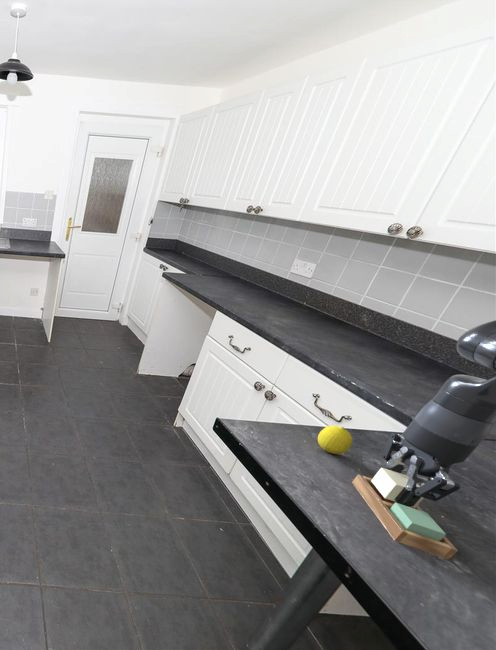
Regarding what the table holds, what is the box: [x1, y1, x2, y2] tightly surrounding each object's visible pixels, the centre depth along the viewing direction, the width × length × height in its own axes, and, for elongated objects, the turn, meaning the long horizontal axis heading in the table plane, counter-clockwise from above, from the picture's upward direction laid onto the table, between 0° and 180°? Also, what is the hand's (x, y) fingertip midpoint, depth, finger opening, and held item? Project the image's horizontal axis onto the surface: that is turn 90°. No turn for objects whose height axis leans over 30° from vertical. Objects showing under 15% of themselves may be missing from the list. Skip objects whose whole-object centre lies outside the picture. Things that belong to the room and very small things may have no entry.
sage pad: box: [389, 503, 447, 541], centre depth 63 cm, size 5×5×4 cm
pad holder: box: [351, 473, 459, 561], centre depth 66 cm, size 7×14×3 cm, turn 157°
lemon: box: [317, 425, 354, 455], centre depth 81 cm, size 6×6×8 cm
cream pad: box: [371, 467, 424, 508], centre depth 67 cm, size 5×5×4 cm
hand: (393, 492), depth 68 cm, fingers closed on cream pad, 4 cm apart
